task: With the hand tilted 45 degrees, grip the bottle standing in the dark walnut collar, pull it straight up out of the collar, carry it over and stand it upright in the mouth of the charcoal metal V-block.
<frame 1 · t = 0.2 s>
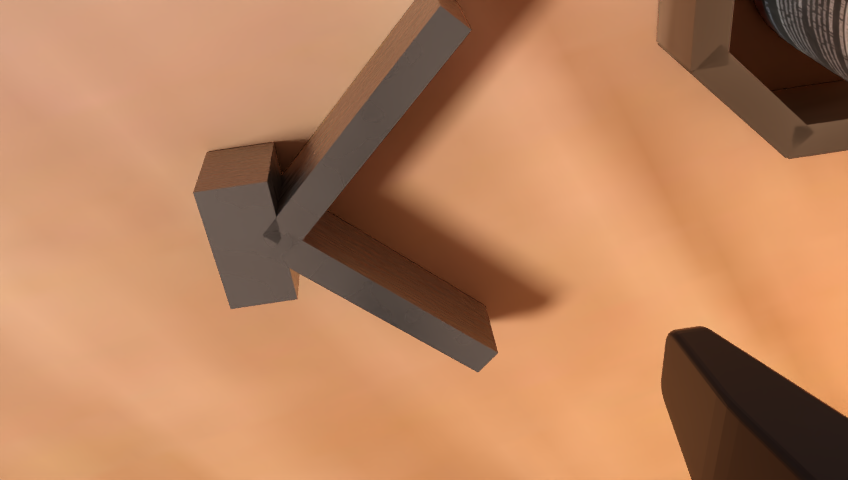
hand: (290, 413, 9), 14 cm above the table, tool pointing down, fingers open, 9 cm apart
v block: (484, 171, 24), on the table
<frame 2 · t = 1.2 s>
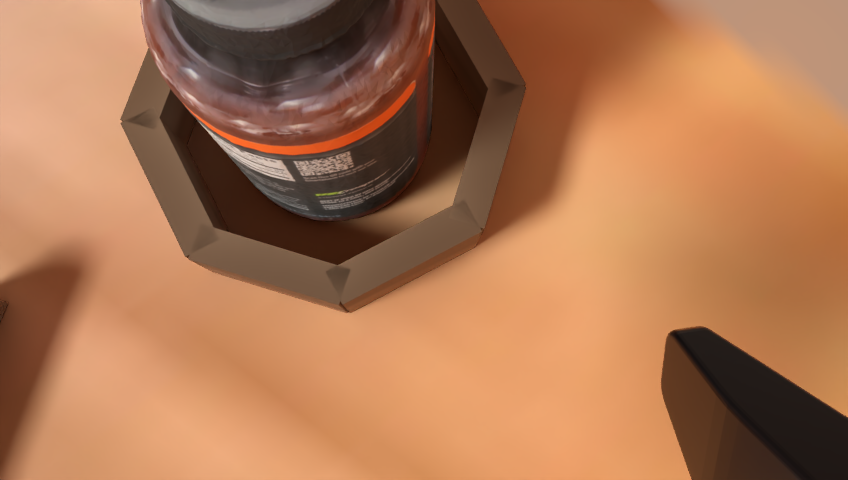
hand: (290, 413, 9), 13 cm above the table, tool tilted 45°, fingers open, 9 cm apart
supplement bottle: (335, 134, 24), resting in walnut collar
walnut collar: (334, 132, 23), on the table
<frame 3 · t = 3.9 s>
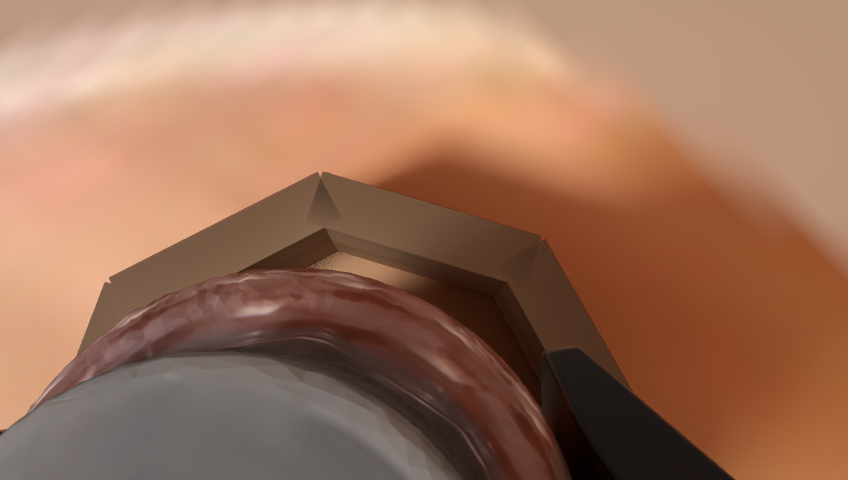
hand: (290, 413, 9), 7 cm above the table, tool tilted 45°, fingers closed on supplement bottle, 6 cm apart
supplement bottle: (356, 467, 16), resting in walnut collar, touching gripper
walnut collar: (355, 468, 15), on the table
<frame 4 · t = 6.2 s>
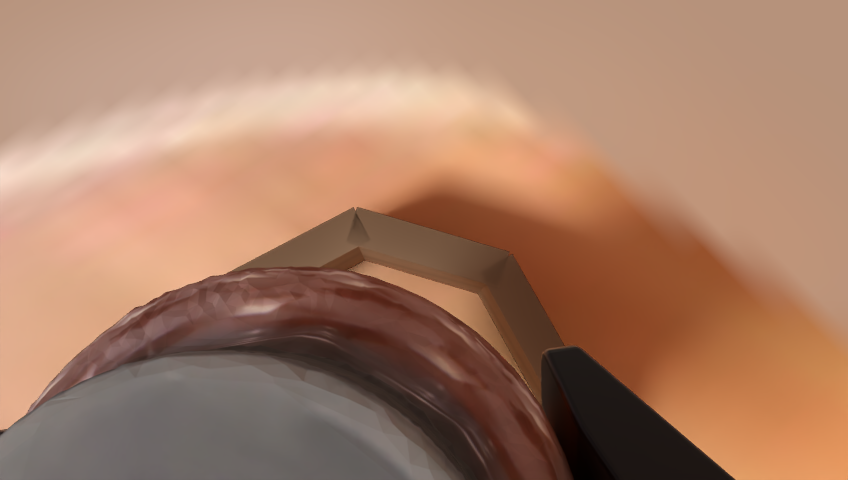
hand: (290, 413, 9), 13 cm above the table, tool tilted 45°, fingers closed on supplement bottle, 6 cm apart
supplement bottle: (356, 464, 16), point 6 cm above the table, touching gripper
walnut collar: (379, 417, 22), on the table
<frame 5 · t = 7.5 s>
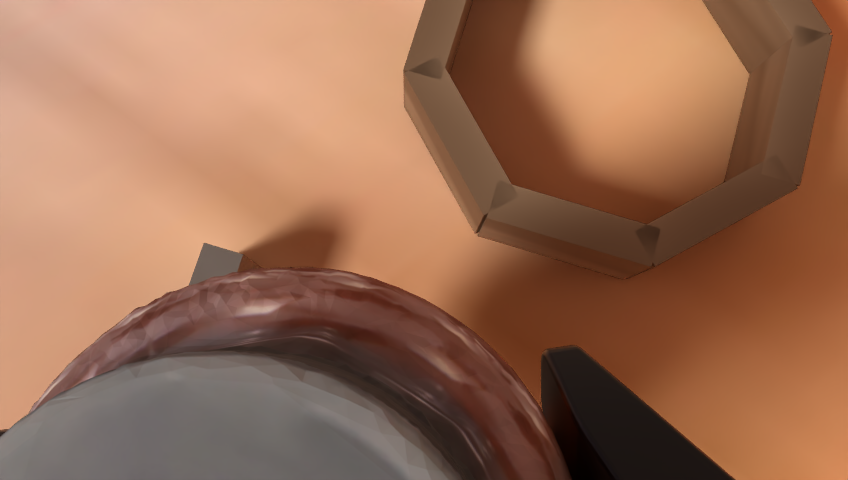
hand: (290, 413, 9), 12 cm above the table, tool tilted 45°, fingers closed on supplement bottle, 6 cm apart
supplement bottle: (357, 464, 16), point 4 cm above the table, touching gripper
walnut collar: (596, 88, 22), on the table
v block: (362, 436, 20), on the table
when the fingers open (8 cm above the table, at t = 8.6 s): supplement bottle drops 1 cm, on the table.
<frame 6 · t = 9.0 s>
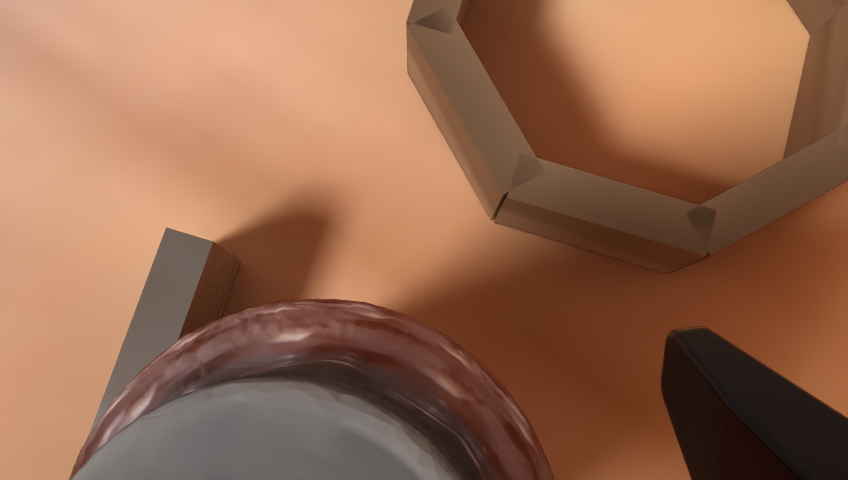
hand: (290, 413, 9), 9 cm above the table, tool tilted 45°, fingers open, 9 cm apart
supplement bottle: (363, 466, 17), on the table
walnut collar: (631, 51, 19), on the table
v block: (358, 460, 17), on the table
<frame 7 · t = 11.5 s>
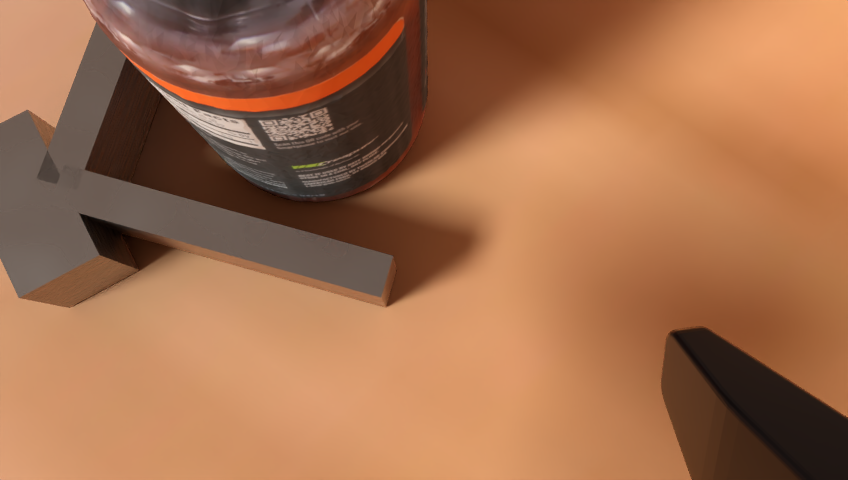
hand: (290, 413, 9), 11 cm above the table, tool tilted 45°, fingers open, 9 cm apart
supplement bottle: (318, 105, 21), on the table
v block: (313, 96, 21), on the table
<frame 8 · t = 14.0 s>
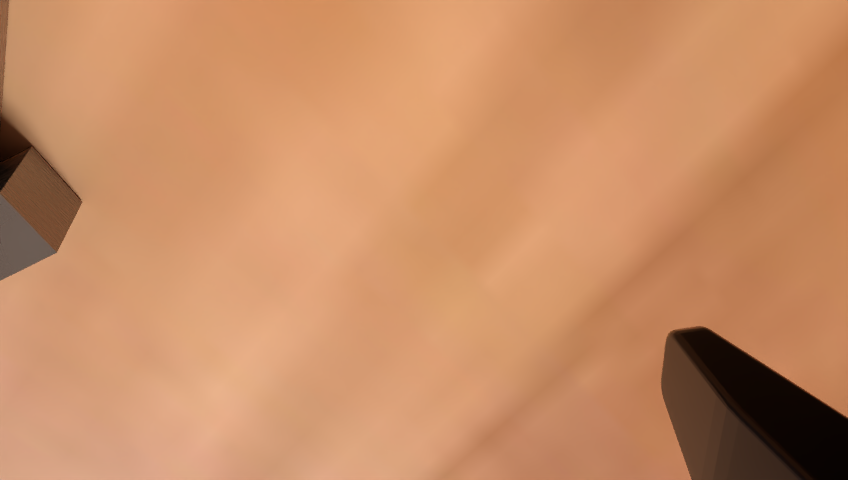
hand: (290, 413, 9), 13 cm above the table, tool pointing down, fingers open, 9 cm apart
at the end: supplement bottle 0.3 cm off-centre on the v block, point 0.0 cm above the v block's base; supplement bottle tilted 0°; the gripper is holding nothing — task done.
